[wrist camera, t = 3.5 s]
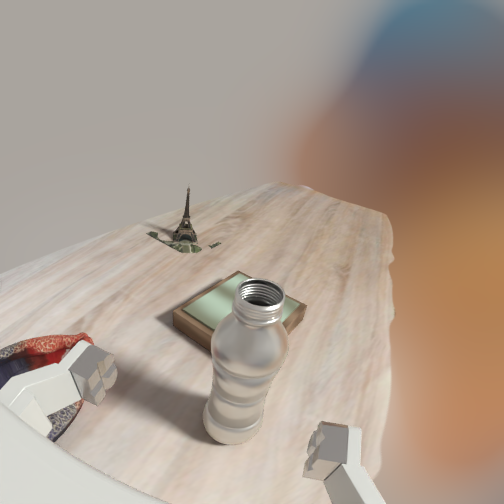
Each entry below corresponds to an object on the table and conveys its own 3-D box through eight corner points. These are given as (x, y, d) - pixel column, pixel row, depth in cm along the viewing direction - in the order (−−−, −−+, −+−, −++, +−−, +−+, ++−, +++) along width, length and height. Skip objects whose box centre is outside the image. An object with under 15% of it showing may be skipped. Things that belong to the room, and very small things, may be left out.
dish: (-79, 425, 16) (-99, 403, 14) (69, 331, 40) (63, 306, 38) (-34, 523, 10) (-60, 509, 8) (138, 394, 34) (133, 370, 32)
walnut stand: (248, 376, 40) (252, 359, 38) (173, 325, 46) (173, 308, 44) (302, 319, 52) (307, 303, 50) (235, 284, 58) (238, 268, 56)
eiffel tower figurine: (144, 235, 70) (145, 179, 63) (175, 223, 78) (178, 172, 71) (192, 261, 64) (197, 199, 57) (222, 245, 72) (229, 189, 65)
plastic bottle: (191, 418, 33) (197, 279, 23) (238, 397, 36) (268, 261, 27) (222, 460, 28) (249, 335, 19) (270, 433, 32) (323, 303, 23)
